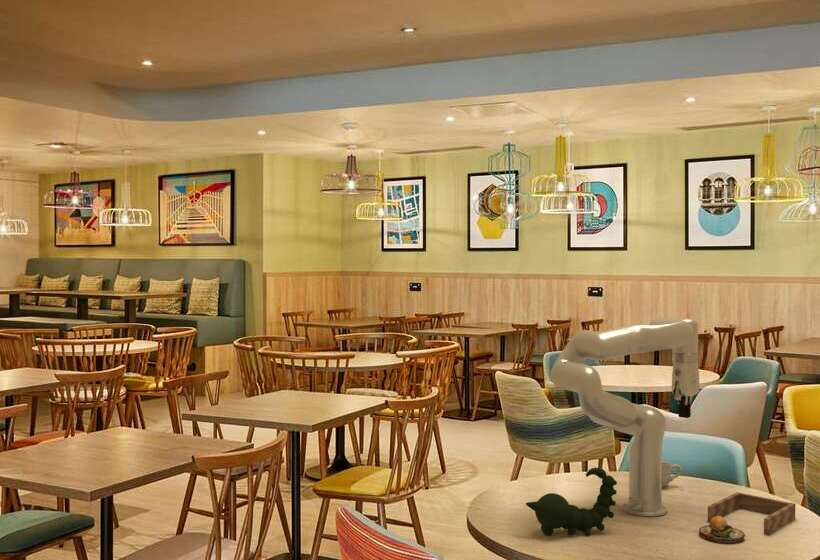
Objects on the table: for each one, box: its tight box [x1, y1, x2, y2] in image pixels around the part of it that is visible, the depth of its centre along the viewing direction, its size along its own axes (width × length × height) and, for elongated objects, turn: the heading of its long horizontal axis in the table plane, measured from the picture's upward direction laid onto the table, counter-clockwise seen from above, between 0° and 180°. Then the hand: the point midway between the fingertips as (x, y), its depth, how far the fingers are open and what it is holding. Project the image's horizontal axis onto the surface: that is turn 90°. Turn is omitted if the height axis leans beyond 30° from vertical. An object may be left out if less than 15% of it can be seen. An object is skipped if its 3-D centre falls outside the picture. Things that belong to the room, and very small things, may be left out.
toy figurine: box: [525, 467, 618, 537], centre depth 237 cm, size 10×19×26 cm
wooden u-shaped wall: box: [707, 491, 796, 536], centre depth 248 cm, size 20×17×4 cm
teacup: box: [662, 460, 683, 488], centre depth 285 cm, size 14×11×8 cm
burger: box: [698, 513, 746, 545], centre depth 234 cm, size 12×12×8 cm
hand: (684, 417), depth 264 cm, fingers closed
